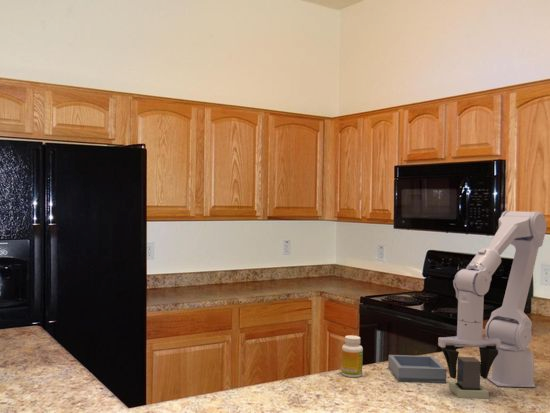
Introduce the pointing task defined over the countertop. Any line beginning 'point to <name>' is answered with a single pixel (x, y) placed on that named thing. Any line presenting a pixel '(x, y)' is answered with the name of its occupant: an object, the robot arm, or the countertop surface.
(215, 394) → the countertop surface
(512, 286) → the robot arm
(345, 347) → the supplement bottle
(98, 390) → the countertop surface
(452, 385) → the holder
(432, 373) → the tray
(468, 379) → the dark wooden post
